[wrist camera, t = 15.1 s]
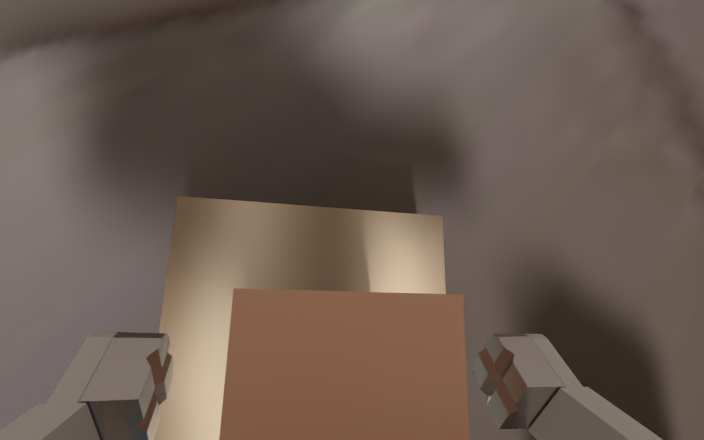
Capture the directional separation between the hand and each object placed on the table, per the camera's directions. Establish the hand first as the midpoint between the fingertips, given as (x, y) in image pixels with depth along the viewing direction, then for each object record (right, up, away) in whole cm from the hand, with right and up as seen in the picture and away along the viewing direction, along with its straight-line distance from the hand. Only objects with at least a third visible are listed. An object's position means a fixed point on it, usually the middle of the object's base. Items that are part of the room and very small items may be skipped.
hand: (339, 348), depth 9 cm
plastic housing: (-1, -2, +6) cm, 6 cm away
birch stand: (-2, -3, +8) cm, 9 cm away
